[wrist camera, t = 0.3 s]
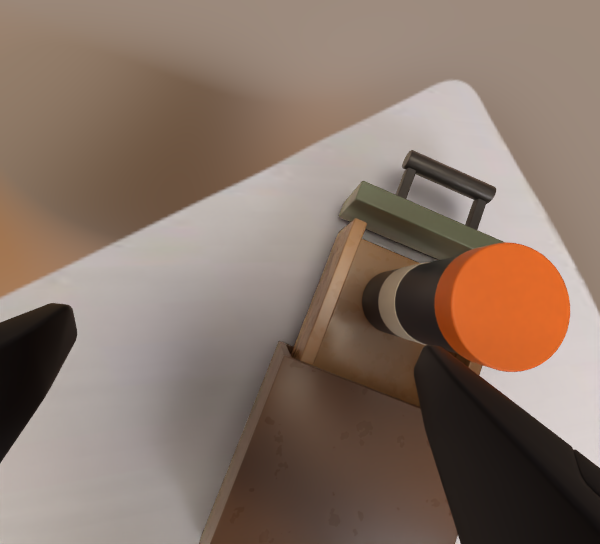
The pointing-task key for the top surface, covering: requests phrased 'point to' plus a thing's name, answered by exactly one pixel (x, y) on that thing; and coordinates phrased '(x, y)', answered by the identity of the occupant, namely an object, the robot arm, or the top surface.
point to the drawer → (374, 260)
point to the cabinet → (329, 467)
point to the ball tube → (476, 305)
